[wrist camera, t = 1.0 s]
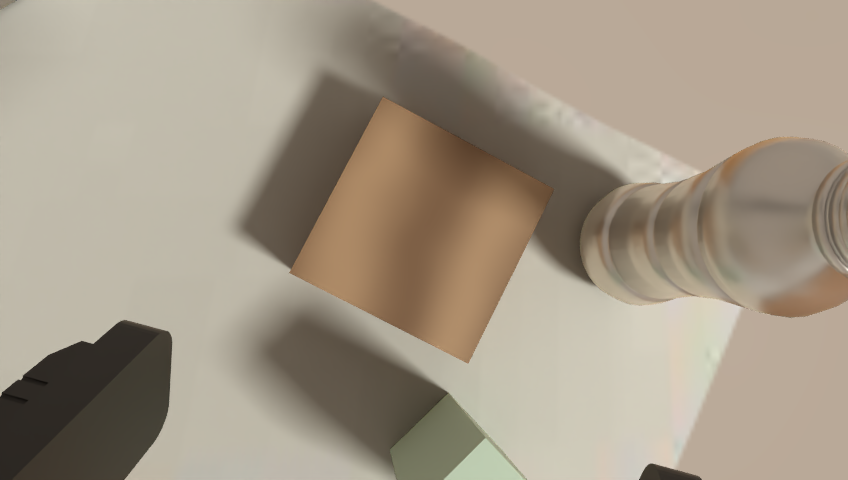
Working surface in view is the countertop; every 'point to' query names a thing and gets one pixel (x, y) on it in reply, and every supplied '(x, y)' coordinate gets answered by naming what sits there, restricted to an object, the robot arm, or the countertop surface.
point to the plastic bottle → (730, 233)
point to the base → (423, 230)
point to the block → (450, 449)
